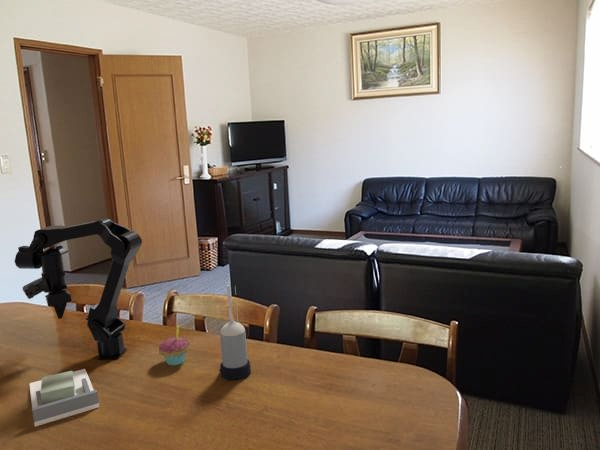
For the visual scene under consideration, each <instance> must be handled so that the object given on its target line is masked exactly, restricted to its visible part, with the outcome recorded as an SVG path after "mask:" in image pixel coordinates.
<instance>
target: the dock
mask: <svg viewBox="0 0 600 450" xmlns="http://www.w3.org/2000/svg"><path fill="white" fill-rule="evenodd" d="M72 372H73V379H74V387H75V396H72V397H69V398H65V399H62V400H58V401H55V402H51V403H48V404H44V405H42V398H41V384H42V379H41V380H38V381H37V380H36V381H33V382H30V383H28V384H29V393H30V399H31V412H32V417H33V425H34V427H38V426H41V425H45V424H48V423H51V422H55V421H58V420H62V419H65V418H69V417H71V416H75V415H78V414H81V413H85V412H87V411H91V410H94V409H99V408H100V401H99V393H98V391H97V389H94V386H93V384H92V382H91V380H90V377H89V375H88V372H87V371H86V368H83V369H79V370H75V371H72Z"/></svg>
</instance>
